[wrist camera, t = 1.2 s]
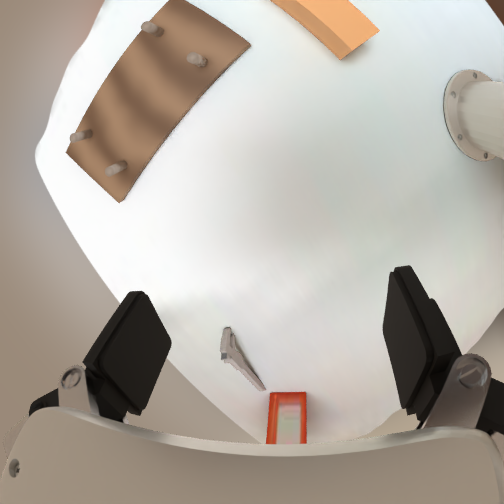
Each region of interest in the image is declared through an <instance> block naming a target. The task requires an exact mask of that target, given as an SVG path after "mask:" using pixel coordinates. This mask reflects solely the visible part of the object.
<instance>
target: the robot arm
mask: <svg viewBox="0 0 504 504" xmlns="http://www.w3.org/2000/svg"><path fill="white" fill-rule="evenodd" d="M444 112H445V119H446V123H447V126H448V129H449V132H450V134H451V136H452V138H453V140H454V142H455V143H456V145H457V146H458V148H459V149H460V150H461V151H462V152H463V153H464V154H466V155H467V156H469V157H471V158H473V159H475V160H478V161H489V160H492V159H494V158H495V157H499V158H502V159H504V82H495V81H492V80H491V79H490V78H489V77H488V76H487V75H485V74H483V73H482V72H479V71H476V70H462V71H460V72H458V73H456V74H455V75H454V76H453V77H452V78H451V80H450V81H449V83H448V85H447V88H446V91H445V97H444ZM383 335H384V339H385V342H386V346H387V349H388V353H389V357H390V361H391V365H392V369H393V373H394V377H395V381H396V385H397V390H398V394H399V399H400V404H401V407H402V409H405V408H406V411H407V415H411V414H415V413H416V416H417V420H419V423H418V425H417V426H416V428H415V430H412V431H406V432H401V433H395V434H388V435H383V436H377V437H371V438H364V439H356V440H347V441H338V442H327V443H312V444H248V443H233V442H221V441H212V440H204V439H197V438H190V437H184V436H178V435H173V434H167V433H163V432H158V431H153V430H148V429H144V428H140V427H136V426H132V425H129V422H128V419H127V416H126V413H127V411H128V412H129V413H131V414H135V415H139V416H140V415H141V412H142V410H143V409H145V407H146V406H147V403H148V401H149V398H150V396H151V393H152V391H153V389H154V386H155V384H156V381H157V379H158V376H159V374H160V372H161V369H162V367H163V365H164V362H165V359H166V357H167V355H168V353H169V350H170V348H171V339H170V337H169V335H168V333H167V331H166V329H165V328H164V326H163V324H162V322H161V320H160V318H159V316H158V314H157V312H156V310H155V308H154V306H153V305H152V303H151V301H150V298H149V297H148V295H146V294H145V293H144V292H143V291H131V292H129V293H128V294H127V296H126V297H125V298H124V300H123V301H122V303H121V304H120V305H119V307H118V308H117V310H116V311H115V313H114V314H113V316H112V317H111V319H110V320H109V321H108V323H107V324H106V326H105V327H104V329H103V331H102V332H101V334H100V335H99V337H98V338H97V340H96V341H95V343H94V344H93V346H92V347H91V349H90V351H89V352H88V354H87V355H86V357H85V359H84V361H83V363H84V365H85V366H86V369H85V370H84V368H82V366H79V365H74V366H71V367H69V368H67V369H66V370H65V371H64V372H63V373H62V375H61V376H60V378H59V382H58V388H57V389H55V390H54V391H52V392H50V393H48V394H46V395H44V396H42V397H40V398H38V399H37V400H35V401H34V402H33V403H32V404H31V406H30V410H29V415H28V414H27V415H26V416H25V417H24V418H23V419H22V420H20V421H19V422H18V423H17V424H16V425H15V426H14V427H13V428H12V429H11V430H10V431H9V432H7V434H6V435H5V437H4V441H3V445H4V449H5V453H6V456H7V459H8V460H7V462H6V465H5V468H4V470H3V473H2V476H1V479H0V504H504V383H502V382H500V381H498V380H495V379H493V378H491V374H492V373H491V368H490V366H489V364H488V362H487V361H486V360H485V359H484V358H483V357H481V356H479V355H477V354H472V353H471V354H464V355H462V354H461V351H460V349H459V347H458V345H457V343H456V340H455V338H454V336H453V334H452V332H451V330H450V328H449V326H448V324H447V322H446V320H445V318H444V316H443V314H442V312H441V310H440V308H439V307H438V305H437V303H436V301H435V300H434V299H432V298H431V299H429V297H428V295H427V293H426V291H425V290H424V288H423V286H422V284H421V282H420V281H419V279H418V277H417V276H416V274H415V272H414V270H413V269H412V267H411V266H409V265H408V266H401V267H396V268H395V269H394V272H390V275H389V284H388V293H387V301H386V308H385V315H384V321H383Z"/></svg>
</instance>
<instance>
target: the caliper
mask: <svg viewBox="0 0 504 504" xmlns="http://www.w3.org/2000/svg"><path fill="white" fill-rule="evenodd" d="M230 332H231V328H225V329H224V331H223V334H222V338H221V346H220V352H221V353H222V355H221V360H224V363H230V364H231V365H232V366H233V367H234V368H235V369H236V370H239V371H240V372H241V373H242V374H243V375H244V376H245V377H246V378H247V379H248V380H249V381H250V382H251V383H252V384H253V385H254V386H255V387H256V388H257V389H258V390H259V391H264V390H266V389H265V388H264V385H263V384H262V382H261V381H260V380H259V379H258V378H257V377H256V375H255V374H254V373H253V372H252V371H251V370H250V369H249V367H248V366H247V365H246V364H245V363H244V361H243V356H242V355H241V354H240V353H239V352H237V351H236V349H235V335H234V333H233V334H230Z"/></svg>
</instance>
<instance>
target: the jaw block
mask: <svg viewBox="0 0 504 504" xmlns="http://www.w3.org/2000/svg"><path fill="white" fill-rule="evenodd" d="M270 1H272V2H273V3H275V4H276V5H277V6H279V7H280V8H281V9H283V10H284V11H285V12H287V13H288V14H289V15H290V16H292V17H293V18H294V19H295V20H297V21H298V22H299V23H300V24H301V25H303V26H304V27H305V28H306V29H307V30H309V31H310V32H311V33H312V34H313V35H314V36H315V37H316V38H318V39H319V40H320V41H321V42H322V43H323V44H324V45H325V46H326V47H327V48H328V49H329V50H330V51H331V52H332V53H333V54H335V55H336V56H337V57H338V58H339V60H341V59H342V58H344V57H345V56H346V55H348V54H349V53H350V52H352V51H353V50H354V49H356V48H357V47H358V46H360V45H361V44H363V43H364V42H365V41H367V40H368V39H369V38H371V37H372V36H374V35H375V34H376V33H378V32H379V31H380V30H379V29H378V28H377V27H376V26H375V25H374V24H373V23H372V22H371V21H370V20H369V19H368V18H367V17H366V16H365V15H364V14H363V13H361V12H360V11H359V10H358V9H357V8H356V7H355V6H354V5H353V4H352V3H350V2H349V1H348V0H270Z"/></svg>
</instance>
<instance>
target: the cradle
mask: <svg viewBox="0 0 504 504" xmlns="http://www.w3.org/2000/svg"><path fill="white" fill-rule="evenodd" d="M141 29H142V30H141V32H140V33H139V34H138V35H137V37H136V38H135V39H134V40H133V42H132V43H131V44H130V45H129V47H128V48H127V49H126V51H125V52H124V53H123V55H122V56H121V57H120V59H119V60H118V62H117V63H116V64H115V66H114V67H113V69H112V70H111V72H110V73H109V75H108V76H107V78H106V79H105V81H104V82H103V84H102V86H101V87H100V89H99V90H98V92H97V94H96V95H95V97H94V99H93V100H92V102H91V104H90V106H89V107H88V109H87V111H86V113H85V115H84V117H83V118H82V120H81V122H80V124H79V126H78V128H77V130H76V132H75V133H73V134H71V136H70V141H71V143H70V145H69V147H68V149H67V151H66V153H67V154H68V155H69V156H70V157H71V158H72V159H73V160H74V161H75V162H76V163H77V164H78V165H79V166H80V167H81V168H82V169H83V170H84V171H85V172H86V173H87V174H88V175H89V176H90V177H91V178H92V179H93V180H95V181H96V182H97V183H98V184H99V185H100V186H101V187H102V188H103V189H104V190H105V191H106V192H107V193H108V194H110V195H111V196H112V197H113V198H114V199H115V200H116V201H117V202H118V203H120V202H122V201H123V200H124V198H125V197H126V195H127V194H128V192H129V191H130V189H131V187H132V186H133V184H134V183H135V181H136V180H137V178H138V177H139V175H140V174H141V172H142V171H143V170H144V168H145V167H146V165H147V164H148V162H149V161H150V160H151V158H152V157H153V155H154V154H155V153H156V151H157V150H158V149H159V147H160V146H161V145H162V143H163V142H164V141H165V139H166V138H167V137H168V135H169V134H170V133H171V132H172V130H173V129H174V128H175V127H176V125H177V124H178V123H179V122H180V120H181V119H182V118H183V117H184V116H185V114H186V113H187V112H188V111H189V110H190V108H191V107H192V106H193V105H194V104H195V103H196V101H197V100H198V99H199V98H200V97H201V96H202V95H203V94H204V92H205V91H206V90H207V89H208V88H209V87H210V86H211V85H212V84H213V83H214V82H215V81H216V80H217V78H218V77H219V76H220V75H221V74H222V73H223V72H224V71H225V70H226V69H227V68H228V67H229V66H230V65H231V64H232V63H233V62H234V61H235V60H236V59H237V58H238V57H239V56H241V55H242V54H243V53H244V52H245V51H246V50H247V49H248V48H249V47H250V46H251V45H250V43H249V42H247V41H246V40H245V39H243V38H242V37H241V36H239V35H238V34H237V33H235V32H234V31H232V30H231V29H230V28H228V27H227V26H225V25H224V24H222V23H221V22H219V21H218V20H216V19H215V18H213V17H212V16H210V15H208V14H207V13H205V12H204V11H202V10H200V9H199V8H197V7H195V6H194V5H192V4H190V3H189V2H187V1H185V0H169V1H168V2H167V3H166V4H165V5H164V6H163V7H162V8H161V9H160V10H159V11H158V12H157V13H156V14H155V16H154V17H153V18H152V19H151V20H150V21H146V22H144V23H143V24H142V26H141Z"/></svg>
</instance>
